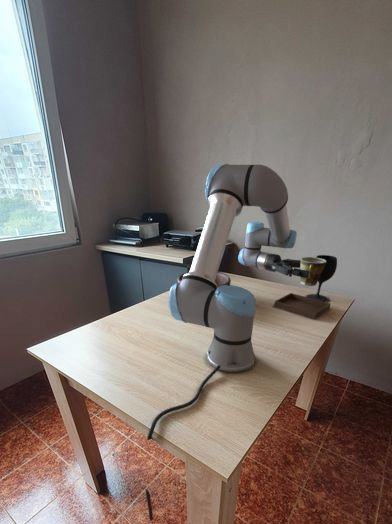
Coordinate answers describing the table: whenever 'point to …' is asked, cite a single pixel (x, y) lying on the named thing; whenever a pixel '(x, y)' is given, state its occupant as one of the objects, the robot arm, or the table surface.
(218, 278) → the wooden bowl
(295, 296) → the tray
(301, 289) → the table surface
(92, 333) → the table surface
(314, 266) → the ceramic cup
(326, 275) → the wine glass
